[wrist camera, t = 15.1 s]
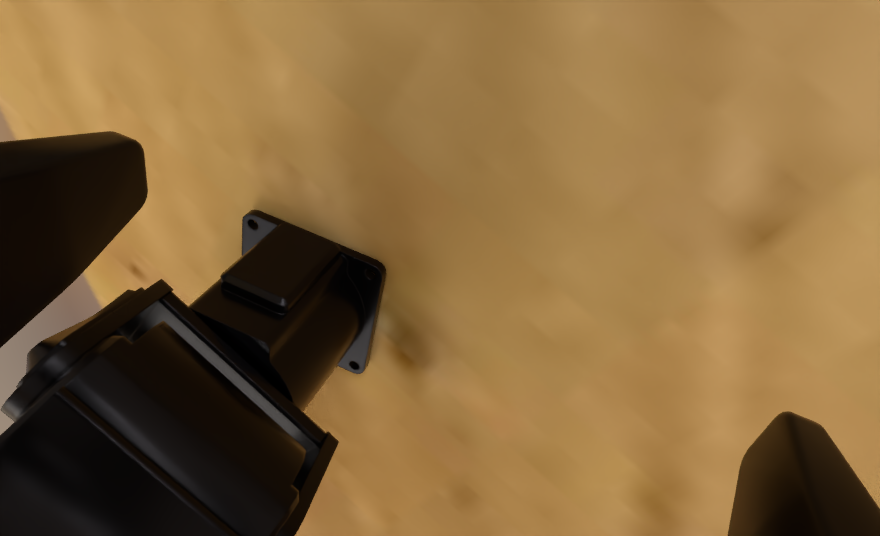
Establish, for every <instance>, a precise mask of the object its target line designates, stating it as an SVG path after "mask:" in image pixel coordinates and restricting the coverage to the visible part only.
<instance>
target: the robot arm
mask: <svg viewBox="0 0 880 536" xmlns="http://www.w3.org/2000/svg"><path fill="white" fill-rule="evenodd" d="M147 193H148V188H147V178H146V167H145V157H144V150H143V148H142V146H141V144H140V143H139V142H137V141H136V140H134V139H131V138H129V137H127V136H124V135H122V134H119V133H116V132H111V131H109V132H98V133H88V134H78V135H67V136H57V137H47V138H37V139H27V140H16V141H6V142H0V348H1V347H2V346H3V345H4V344H5V343H6V342H7V341H8V340H9V339H11V338H12V337H13V336H14V335H15V334H16V333H17V332H18V331H20V330H21V329H22V328H23V327H24V326H25V325H26V324H27V323H28V322H29V321H31V320H32V319H33V318H34V317H35V316H36V315H37V314H38V313H40V312H41V311H42V310H43V309H44V308H45V307H46V306H47V305H49V303H51V302H52V301H53V300H54V299H55V298H56V297H57V296H58V295H60V294H61V293H62V292H63V291H64V290H65V289H66V288H67V287H68V286H69V285H71V283H73V282H74V281H75V280H76V279H77V278H78V277H79V276H80V274H81V273H82V272H83V271H84V270H85V269H86V268H87V267H88V266H89V265H90V264H91V263H92V262H93V261H94V259H95V258H96V257H97V256H98V255H99V254H100V253H101V252H102V251H103V250H104V248H105V247H106V246H107V245H108V244H109V243H110V242H111V241H112V240H113V239H114V237H115V236H116V235H117V234H118V233H119V232H120V231H121V230H122V229H123V227H124V226H125V225H126V224H127V223H128V222H129V221H130V220H131V219H132V218H133V216H134V215H135V214H136V213H137V212H138V211H139V210H140V209H141V207H142V206H143V204H144V203H145V200H146V198H147ZM254 221H256V223H257V224H258V225H257V224H256V223H255V222H254ZM370 270H373V271H374V272H375V273H376V274H373V273H372V272H371V271H370ZM385 277H386V269H385V267H384V265H383V264H382V263H381V262H379V261H378V260H376V259H373V258H371V257H369V256H366V255H364V254H361V253H359V252H357V251H354V250H352V249H349V248H347V247H345V246H342V245H340V244H338V243H335V242H333V241H330V240H328V239H326V238H323V237H321V236H318V235H316V234H314V233H311V232H309V231H306V230H304V229H302V228H299V227H297V226H295V225H292V224H290V223H287V222H285V221H283V220H280V219H278V218H275V217H273V216H271V215H268V214H266V213H264V212H261V211H259V210H251V211H250V212H249V213H247V214H246V215H245V216H244V217H243V224H242V257H241V258H239V259H238V260H237V261H236V262H235V263H234V264H233V265H231V266H230V267H229V268H228V269H227V270H226V271H225V272H223V273H222V275H221V278H220V279H219V280H218V281H217V282H216V283H215V284H214V285H212V286H211V287H210V288H209V289H208V290H207V291H206V292H204V293H203V294H202V295H201V296H200V297H199V298H198V299H196V300H195V301H194V302H193V303H192V304H191V305H190V306H187V305H186V304H185V303H184V302H183V301H182V300H180V299H179V298H178V297H177V296H176V295H175V294H174V293H173V292H172V291H173V289H172V288H171V287H170V286H169V285H168V284H167V283H166V282H165V281H164V280H162V279H161V280H159V281H158V282H156V283H155V284H153V285H152V286H150V287H149V288H147V289H146V290H144V289H143V288H142V287H141V288H139V289H138V290H136V291H133V290H127V291H126V292H124V293H123V294H122V295H121V296H119V297H118V298H117V299H115V300H114V301H113V302H111V303H110V304H109V305H107V306H106V307H105V308H103V309H102V310H101V311H99V312H98V313H96V314H95V315H93V316H92V317H90V318H88V319H86V320H84V321H82V322H80V323H78V324H76V325H74V326H72V327H69V328H68V329H65V330H63V331H61V332H59V333H57V334H55V335H53V336H51V337H49V338H47V339H45V340H43V341H41V342H40V343H38V344H37V345H36V346H35V347H34V348H32V349H31V351H30V352H29V353H28V355H27V369H26V375H25V376H24V377H23V378H22V379H21V381H20V382H19V383H18V385H17V386H16V387H17V389H16V390H15V391H14V392H13V394H12V395H11V396H10V397H9V398H8V399H7V401H6V402H5V403H4V405H3V406H2V408H1V411H2V412H3V413H4V414H6V415H7V416H8V417H10V418H11V419H12V420H13V421H14V423H13V424H12V425H11V426H10V427H9V428H8V429H7V430H6V431H5V432H4V433H2V434H1V435H0V536H294V535H295V534H296V532H297V531H298V529H299V527H300V525H301V523H302V522H303V520H304V518H305V516H306V513H307V511H308V509H309V507H310V504H311V502H312V500H313V498H314V496H315V493H316V491H317V489H318V487H319V485H320V482H321V480H322V478H323V476H324V473H325V471H326V469H327V467H328V465H329V462H330V460H331V458H332V456H333V454H334V451H335V449H336V447H337V445H338V442H339V441H338V440H337V439H335V438H334V437H333V436H332V435H331V434H330V433H329V432H326V433H325V432H324V431H323V430H322V429H321V428H320V427H319V426H318V425H317V424H316V423H314V422H313V421H312V420H311V419H310V418H309V417H308V416H307V415H306V414H305V413H304V412H303V411H304V410H305V408H306V407H307V406H308V404H309V403H310V402H311V400H312V399H313V398H314V396H315V395H316V394H317V392H318V391H319V389H320V388H321V387H322V385H323V384H324V383H325V381H326V380H327V379H328V377H329V376H330V375H331V373H332V372H333V371H334V369H335V368H336V367H337V366H340V367H342V368H344V369H346V370H348V371H351V372H353V373H356V374H361V373H363V371H364V370H365V369H366V367H367V365H368V362H369V357H370V352H371V347H372V342H373V337H374V332H375V327H376V322H377V317H378V312H379V307H380V302H381V297H382V292H383V287H384V282H385ZM728 536H880V509H879V507H878V506H877V504H876V503H875V501H874V500H873V498H872V497H871V496H870V494H869V493H868V491H867V490H866V488H865V487H864V485H863V484H862V483H861V481H860V480H859V478H858V477H857V475H856V474H855V472H854V471H853V469H852V468H851V467H850V465H849V464H848V462H847V461H846V459H845V458H844V456H843V455H842V454H841V452H840V451H839V449H838V448H837V446H836V445H835V443H834V442H833V441H832V439H831V438H830V436H829V435H828V433H827V432H826V430H825V429H824V428H823V427H822V426H821V425H820V424H818V423H816V422H814V421H812V420H809V419H807V418H804V417H802V416H800V415H797V414H795V413H792V412H782V413H780V414H779V415H778V416H776V417H775V418H774V420H773V421H772V422H771V423H770V424H769V425H768V427H767V428H766V429H765V430H764V431H763V432H762V434H761V435H760V436H759V437H758V438H757V439H756V441H755V442H754V443H753V444H752V445H751V446H750V447H749V449H748V450H747V452H746V453H745V455H744V457H743V460H742V462H741V466H740V470H739V476H738V481H737V487H736V492H735V498H734V503H733V509H732V514H731V520H730V525H729V531H728Z"/></svg>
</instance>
